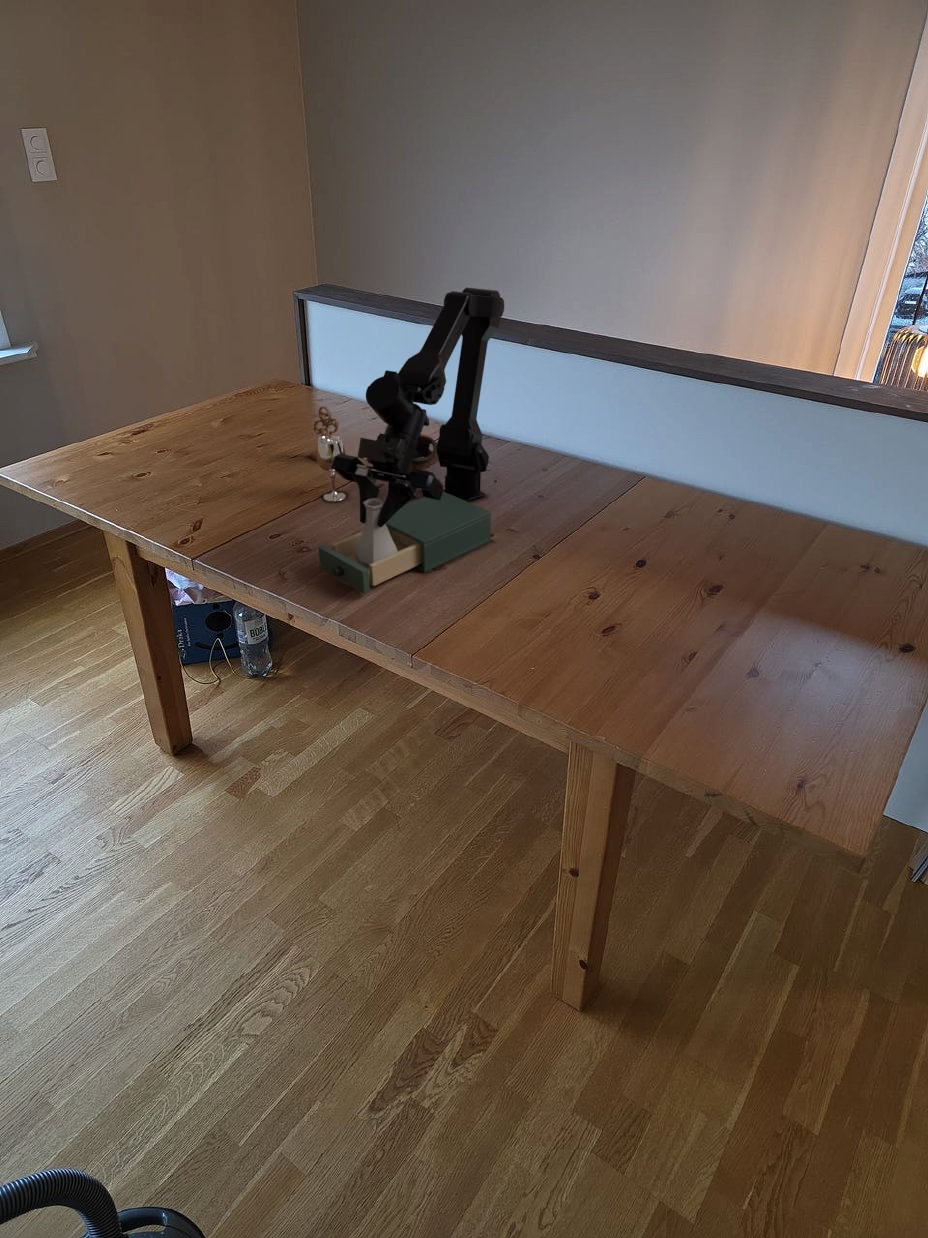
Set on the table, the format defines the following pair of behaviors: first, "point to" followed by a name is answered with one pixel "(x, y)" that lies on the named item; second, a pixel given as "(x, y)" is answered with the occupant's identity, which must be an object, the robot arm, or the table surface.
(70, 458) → the table surface
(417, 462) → the pottery mug
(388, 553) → the flask
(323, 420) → the brown looped piece
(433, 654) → the table surface
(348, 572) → the drawer
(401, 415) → the robot arm
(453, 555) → the cabinet
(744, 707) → the table surface
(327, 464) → the wineglass
